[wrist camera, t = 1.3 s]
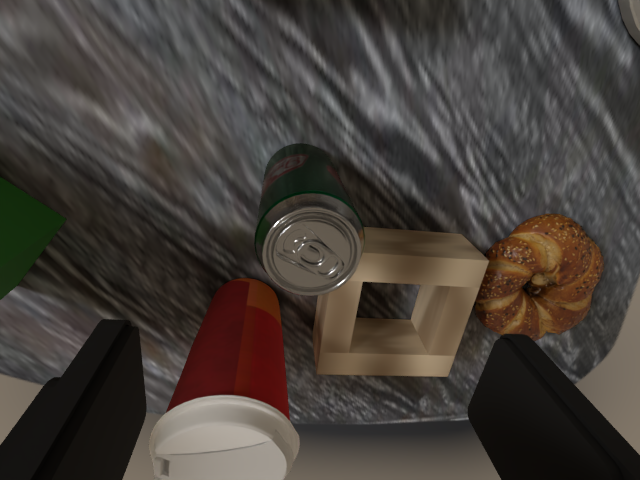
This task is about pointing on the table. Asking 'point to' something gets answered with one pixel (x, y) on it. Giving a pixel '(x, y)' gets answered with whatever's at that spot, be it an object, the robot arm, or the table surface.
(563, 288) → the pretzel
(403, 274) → the holder
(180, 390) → the paper cup
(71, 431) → the robot arm
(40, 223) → the hardback book
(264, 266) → the soda can
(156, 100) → the table surface
